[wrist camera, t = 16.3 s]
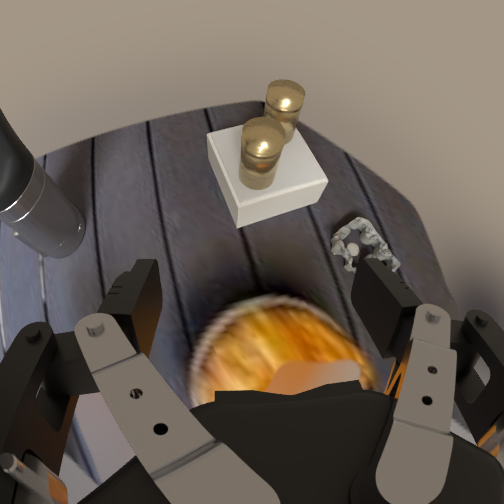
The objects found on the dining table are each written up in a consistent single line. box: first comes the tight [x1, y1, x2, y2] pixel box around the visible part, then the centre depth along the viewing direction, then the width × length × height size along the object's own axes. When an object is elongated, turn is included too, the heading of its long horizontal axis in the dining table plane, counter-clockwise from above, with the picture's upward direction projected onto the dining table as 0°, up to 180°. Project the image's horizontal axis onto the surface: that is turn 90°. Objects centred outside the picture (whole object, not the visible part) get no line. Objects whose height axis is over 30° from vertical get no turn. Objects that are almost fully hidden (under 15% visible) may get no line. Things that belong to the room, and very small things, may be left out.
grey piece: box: [331, 217, 401, 273], centre depth 44 cm, size 11×8×4 cm
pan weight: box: [263, 80, 305, 145], centre depth 40 cm, size 5×5×9 cm
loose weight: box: [239, 117, 286, 190], centre depth 37 cm, size 5×5×9 cm
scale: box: [207, 125, 328, 228], centre depth 46 cm, size 14×15×7 cm
